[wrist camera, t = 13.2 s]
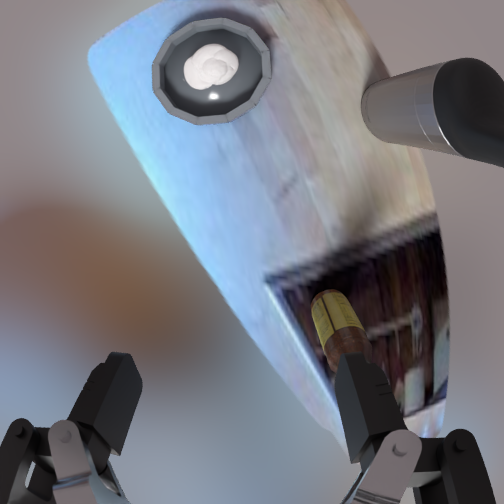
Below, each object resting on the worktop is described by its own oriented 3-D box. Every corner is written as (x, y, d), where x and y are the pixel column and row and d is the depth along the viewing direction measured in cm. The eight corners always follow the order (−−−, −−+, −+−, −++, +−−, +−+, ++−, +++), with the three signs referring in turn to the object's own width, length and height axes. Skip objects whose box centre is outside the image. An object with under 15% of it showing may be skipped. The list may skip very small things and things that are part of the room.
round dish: (266, 22, 27) (267, 15, 25) (272, 121, 33) (273, 120, 31) (158, 35, 28) (152, 29, 25) (162, 130, 34) (155, 130, 31)
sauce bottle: (320, 323, 46) (346, 420, 28) (302, 299, 44) (325, 400, 26) (353, 304, 44) (395, 396, 26) (338, 278, 42) (381, 373, 24)
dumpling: (227, 44, 28) (223, 34, 24) (246, 74, 30) (245, 67, 26) (179, 70, 29) (170, 63, 26) (197, 100, 31) (190, 96, 28)
